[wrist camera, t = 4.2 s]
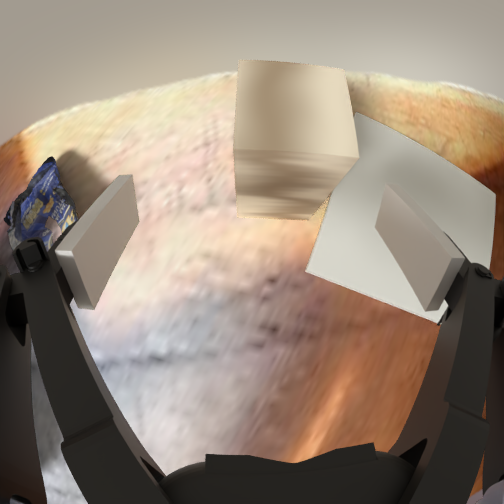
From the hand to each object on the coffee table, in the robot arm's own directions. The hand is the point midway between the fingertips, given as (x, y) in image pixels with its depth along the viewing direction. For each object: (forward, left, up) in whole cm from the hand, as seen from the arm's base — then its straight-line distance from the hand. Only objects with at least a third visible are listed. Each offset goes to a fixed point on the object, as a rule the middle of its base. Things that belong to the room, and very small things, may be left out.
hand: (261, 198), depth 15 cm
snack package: (+19, +6, -11) cm, 23 cm away
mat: (-15, -7, -10) cm, 19 cm away
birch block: (0, -5, -10) cm, 11 cm away
